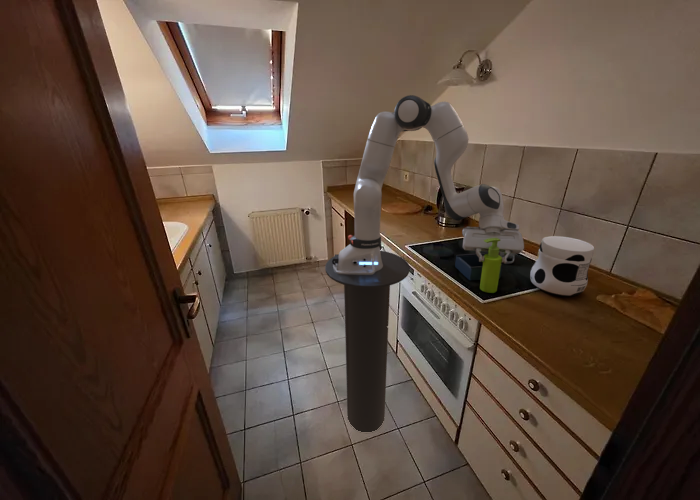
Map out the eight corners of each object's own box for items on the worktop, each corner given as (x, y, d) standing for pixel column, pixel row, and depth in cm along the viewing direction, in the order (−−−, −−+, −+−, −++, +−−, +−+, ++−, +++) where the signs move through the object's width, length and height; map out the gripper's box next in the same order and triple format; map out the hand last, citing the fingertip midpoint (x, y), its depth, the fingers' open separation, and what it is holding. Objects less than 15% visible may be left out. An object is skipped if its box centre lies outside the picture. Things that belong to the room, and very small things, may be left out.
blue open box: (469, 280, 117) (471, 267, 115) (454, 266, 129) (456, 254, 127) (500, 278, 119) (502, 265, 117) (482, 264, 131) (484, 252, 129)
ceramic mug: (488, 255, 140) (491, 240, 136) (504, 254, 140) (507, 239, 137) (501, 265, 130) (504, 249, 127) (518, 264, 131) (522, 248, 128)
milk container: (528, 273, 122) (538, 232, 115) (580, 283, 114) (594, 239, 107) (527, 292, 108) (538, 246, 101) (586, 305, 100) (602, 256, 93)
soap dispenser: (473, 286, 113) (479, 237, 105) (490, 284, 114) (497, 235, 107) (483, 294, 108) (490, 242, 100) (500, 291, 109) (508, 240, 101)
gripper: (463, 222, 110) (463, 256, 105) (524, 225, 106) (527, 261, 101) (460, 229, 116) (460, 263, 111) (518, 233, 112) (520, 267, 107)
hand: (492, 262), depth 106 cm, fingers closed on soap dispenser, 6 cm apart
